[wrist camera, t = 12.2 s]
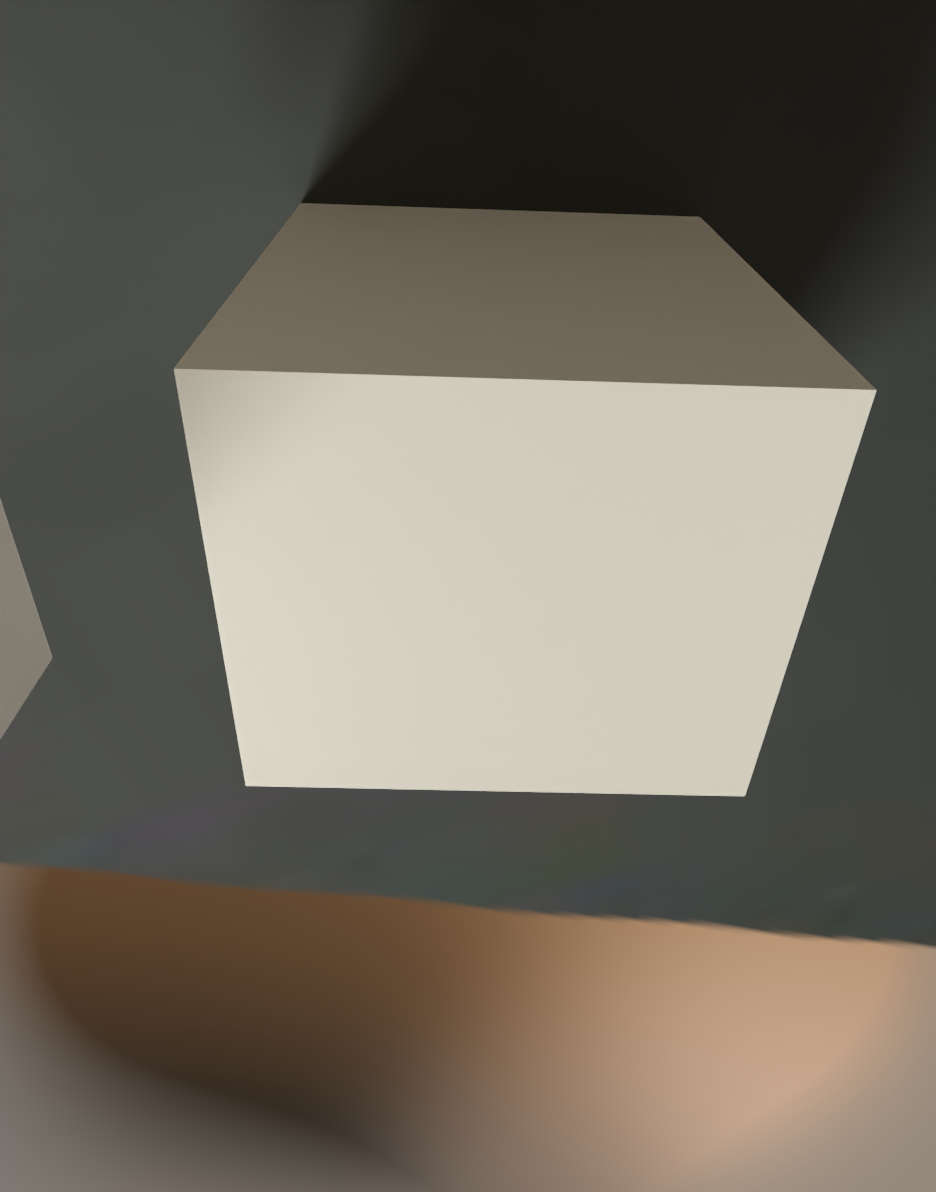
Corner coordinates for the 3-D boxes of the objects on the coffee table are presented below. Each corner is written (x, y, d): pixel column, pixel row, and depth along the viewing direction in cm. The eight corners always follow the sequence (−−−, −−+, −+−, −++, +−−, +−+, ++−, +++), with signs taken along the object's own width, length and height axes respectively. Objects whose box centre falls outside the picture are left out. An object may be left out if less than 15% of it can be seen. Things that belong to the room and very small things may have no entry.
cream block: (323, 503, 18) (245, 786, 12) (301, 202, 15) (174, 369, 8) (647, 512, 19) (744, 796, 12) (699, 215, 15) (876, 390, 9)
